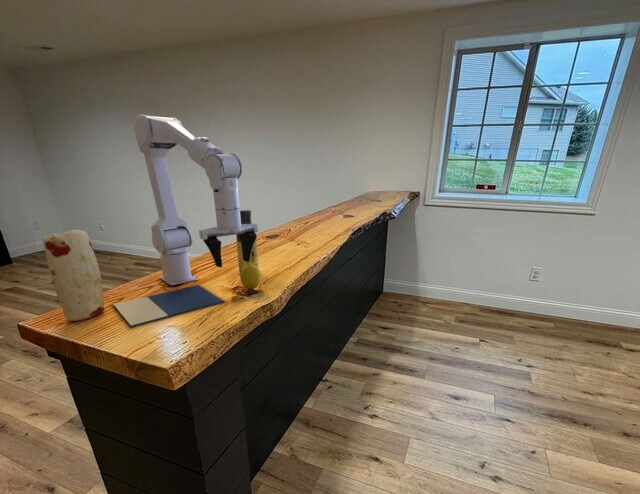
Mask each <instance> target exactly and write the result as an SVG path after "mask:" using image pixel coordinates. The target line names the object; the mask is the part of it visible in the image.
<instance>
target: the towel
mask: <svg viewBox="0 0 640 494" xmlns="http://www.w3.org/2000/svg"><path fill="white" fill-rule="evenodd" d="M223 303H225V302H224V300H223V299H221V298H220V297H218V296H217V295H215V294H213V293H211V292H210V291H209V290H207V289H205V288H203V287H202V286H200V285H199V284H197V285H193V286H188V287H183V288H178V289H174V290H170V291H166V292H161V293H157V294H152V295H149V296H142V297H138V298H133V299H129V300H125V301H119V302H116V303H112V304H113V307H114V308H115V309H116V310H117V312H118V313H119V314H120V315H121V317H122V318H123V319H124V320H125V321H126V323H127V324H128V325H129V326H130V328H133V327H138V326H141V325H144V324H149V323H152V322H155V321H160V320H163V319H167V318H170V317H174V316H179V315H181V314H185V313H189V312H192V311H196V310H200V309H203V308H208V307H212V306H215V305H219V304H223Z"/></svg>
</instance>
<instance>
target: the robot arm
mask: <svg viewBox="0 0 640 494" xmlns="http://www.w3.org/2000/svg"><path fill="white" fill-rule="evenodd" d="M134 121H135V122H134V124H133V129H134V135H135V138H136V143H137V146H138V150H139V152H141V153H142V154H143V156H144V161H145V165H146V169H147V173H148V179H149V182H150V186H151V189H152V195H153V199H154V203H155V207H156V211H157V215H158V219H156V221H155V222H154V223H153V224H152V225H151V227H150V228H151V243H152V245H153V247H154V249H155V250H156V251H157V252H158V253H159V254H160V256H159V260H160V261H159V262H160V266H161V273H162V275H161V276H160V277H159V279H160V280H162V281H163V282H165V283H167V284H168V285H169V286H175V285H181V284H185V283H190V282H195V281H197V280H198V278H197V277H195V276H194V275H192V270H191V269H192V268H191V261H190V256H189V251H191V247H192V245H193V242H194V238H193V234H192V232H191V230H190V228H189V224H188V222H187V221H186V220H184V219H183V218H181V217H180V216H179V212H178V208H177V204H176V199H175V194H174V190H173V186H172V185H173V184H172V180H171V177H170V172H169V166H168V163H167V156H168V154H170V153H172V152H173V151H174V150H175V149H176V147H178V146H180V147H181V148H183V149H185V150H186V151H187V154H188V157H189V158H190V160H192V161H193V162H194V163H196V164H197V165H198V166H200V167H201V168H202V169H204V171H205V174H206V177H207V179H208V181H209V187H210V188H211V189H212V193H213V203H214V212H215V220H216V226H214V227H210V228H205V229H199V230H198V233H199V239H201V240H202V241H203V242H204V244H205V245H206V247H207V249H208V250H209V253H210V254H211V256H212V259H213V261H214V264H215V267H217V268H223V261H222V241H221V240H219V238H220V237H228V236H234V235H235V236H236V234H239V237H240V241H241V246H242V256H243V260H244V261H246V262H249V261H250V255H251V250H252V247H253V244H254V242H255V240H256V239H257V238H258V237H257V235H258V234H257V233H259V230H258V224H257V223H252V224H241V217H240V210H241V205H240V204H241V203H240V193H239V181H238V180H239V179H240V178H241V177H242V172H243V165H242V162H241V160H240V158H239V157H238V156H237V155H236V154H235V153H233V152H231V153H230V152H229V153H225V152H224V151H223V149H222V148H221V147H219V146H216V145H215V144H213V143H212V142H210V138H208V137H207V136H198V137H196V136H194V134H193V133H191V132H190V131H188V130H187V129H186V128H185V127H184V126H183V123H182V121H181V120H179V119H177V118H176V117H173V116H172V117H171V116H170V117H167V116H153V115H145V114H142V113H141V114H138V115H137V117H136V118H135V120H134ZM254 232H255V233H254Z"/></svg>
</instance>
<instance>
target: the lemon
mask: <svg viewBox="0 0 640 494" xmlns="http://www.w3.org/2000/svg"><path fill="white" fill-rule="evenodd" d="M239 273H240V272H239ZM261 277H262V276H261V272H260V270H259V267H258V268H257V267H256V266H255V265H253V264H251V263H248V264H247V265H245V266H244V267H243V268H242V269H241V273H240V274H239V279H240V282H241V285H242V286H243V287H244V288H246V289H248V290H249V291H254V289H256V288H257V287H259V285H260V284H261V279H262V278H261Z"/></svg>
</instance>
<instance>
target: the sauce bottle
mask: <svg viewBox="0 0 640 494" xmlns="http://www.w3.org/2000/svg"><path fill="white" fill-rule="evenodd" d="M240 217H241V224H253V222H252V210H251V209H247V208H246V209H240ZM254 233H255V234H256V232H254ZM235 237H236V253H237V263H238V264H237V265H238V270H239V273H241V269H242V268H243V267H244V266H245V265H247V264H248V263H251V264H253V265H255V266H256V267H257V268H258V269H259V256H258V242H257V238H256V240H255V242H254V244H253V247H252V250H251V255H250V261H249V262H246V261H244V260H243V256H242V246H241V241H240V237H239V234H236V235H235Z"/></svg>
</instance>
